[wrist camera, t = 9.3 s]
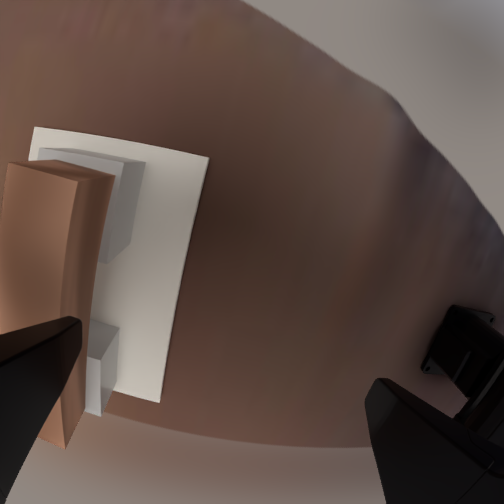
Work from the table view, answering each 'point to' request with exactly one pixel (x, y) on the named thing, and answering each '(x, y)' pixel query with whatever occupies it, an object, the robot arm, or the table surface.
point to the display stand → (133, 256)
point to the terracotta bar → (52, 262)
